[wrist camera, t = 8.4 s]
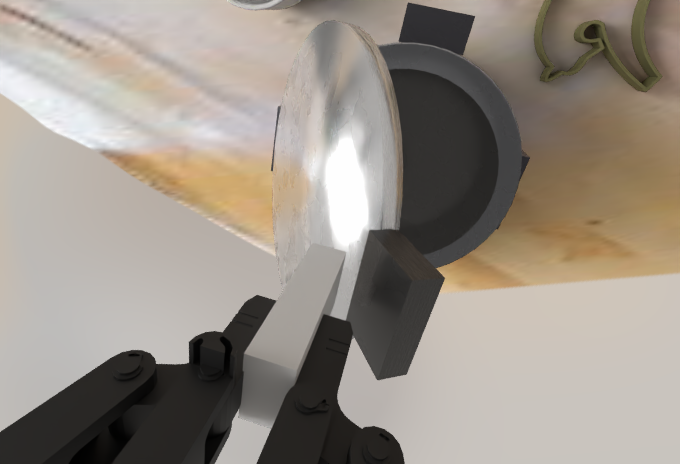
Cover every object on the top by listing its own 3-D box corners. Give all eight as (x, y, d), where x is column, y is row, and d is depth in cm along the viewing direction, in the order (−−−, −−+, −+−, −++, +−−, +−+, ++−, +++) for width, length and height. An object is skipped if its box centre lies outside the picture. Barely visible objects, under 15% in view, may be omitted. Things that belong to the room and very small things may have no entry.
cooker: (326, -2, 37) (288, -24, 27) (549, 44, 34) (596, 38, 25) (293, 217, 48) (259, 257, 38) (459, 263, 46) (466, 318, 36)
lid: (301, 18, 28) (282, 14, 27) (540, 46, 10) (497, 34, 9) (274, 240, 37) (259, 241, 37) (368, 473, 19) (341, 482, 18)
